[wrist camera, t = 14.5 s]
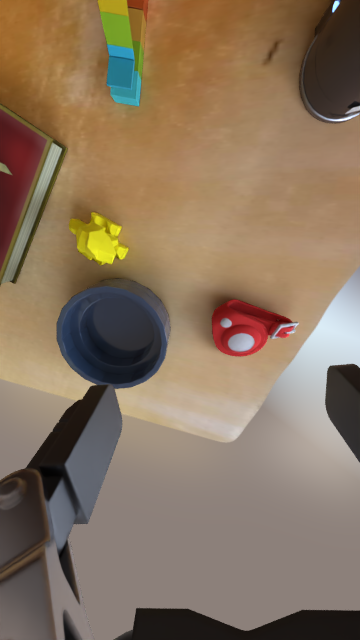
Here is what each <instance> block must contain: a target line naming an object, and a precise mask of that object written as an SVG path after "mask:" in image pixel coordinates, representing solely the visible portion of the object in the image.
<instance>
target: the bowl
mask: <svg viewBox="0 0 360 640" xmlns="http://www.w3.org/2000/svg"><path fill="white" fill-rule="evenodd" d="M170 330H171V327H170V321H169V315H168V313H167V311H166V309H165V307H164V305H163V303H162V301H161V300H160V299H159V298H158V297H157V296H156V295H155V294H154V293H153V292H152V291H151V290H150V289H149V288H147V287H145V286H143V285H141V284H139V283H137V282H135V281H131V280H125V279H120V278H115V279H108V280H102V281H100V282H98V283H96V284H94V285H92V286H90V287H88V288H87V289H85V290H83V291H81V292H80V293H78V294H76V295H74V296H73V297H72V298H71V299H70V300H69V301H68V302H67V304H66V305H65V306H64V307H63V308H62V310H61V313H60V316H59V318H58V321H57V342H58V345H59V348H60V351H61V354H62V356H63V357H64V359H65V360H66V361H67V363H68V364H69V366H70V367H71V368H72V369H73V370H74V371H75V372H77V373H78V374H79V375H80V376H81V377H83V378H84V379H86V380H88V381H90V382H92V383H95V384H97V385H106V384H112V385H113V387H114V388H115V389H118V388H129V387H133V386H136V385H138V384H141V383H143V382H145V381H147V380H148V379H149V378H150V377H152V376H153V375H154V374H155V373H156V372H157V371H158V370H159V368H160V366H161V364H162V363H163V361H164V359H165V356H166V351H167V347H168V342H169V336H170Z"/></svg>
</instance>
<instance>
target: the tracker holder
mask: <svg viewBox="0 0 360 640" xmlns="http://www.w3.org/2000/svg"><path fill="white" fill-rule="evenodd" d="M297 325H298V322H292V321H291V320H290V319H288V318H286V317H284V316H281V315H278V314H275V313H272V312H269V311H266V310H264V309H261V308H258V307H256V306H253V305H250V304H248V303H245V302H243V301H240V300H236V299H233V300H230V301H228V302H226V303H224V304H222V305H221V306H219V307H217V308H216V309H215V310H214V313H213V315H212V334H213V339H214V342H215V345H216V347H217V348H218V349H219V350H220V351H221V352H223V353H225V354H227V355H231V356H247V355H251V354H253V353H255V352H257V351H259V350H260V349H261V348H262V347H263V346H264V345H265V343H266V342H267V338H268V335H271V336H270V338H271V339H274V338H279V337H280V338H286V337H288V336H289V335H290V333H293V332H295V330H294V328H295V327H296V326H297Z"/></svg>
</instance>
